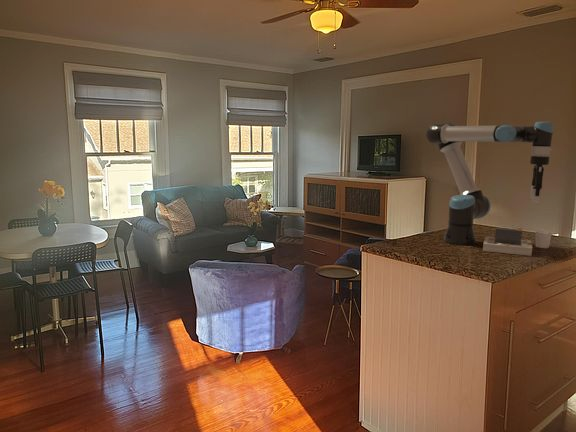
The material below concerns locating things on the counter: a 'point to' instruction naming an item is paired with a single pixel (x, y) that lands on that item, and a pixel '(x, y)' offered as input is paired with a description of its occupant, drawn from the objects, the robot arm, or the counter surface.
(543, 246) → the shot glass
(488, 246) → the housing
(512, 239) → the dial
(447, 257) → the counter surface
